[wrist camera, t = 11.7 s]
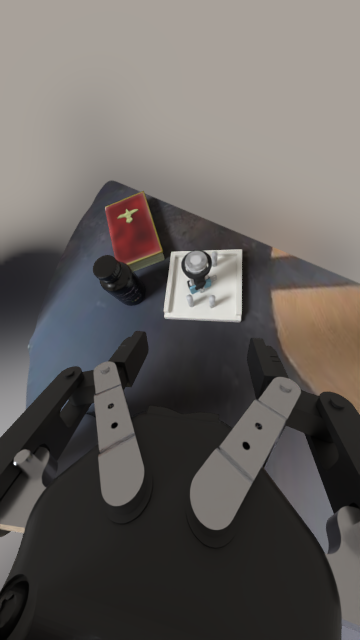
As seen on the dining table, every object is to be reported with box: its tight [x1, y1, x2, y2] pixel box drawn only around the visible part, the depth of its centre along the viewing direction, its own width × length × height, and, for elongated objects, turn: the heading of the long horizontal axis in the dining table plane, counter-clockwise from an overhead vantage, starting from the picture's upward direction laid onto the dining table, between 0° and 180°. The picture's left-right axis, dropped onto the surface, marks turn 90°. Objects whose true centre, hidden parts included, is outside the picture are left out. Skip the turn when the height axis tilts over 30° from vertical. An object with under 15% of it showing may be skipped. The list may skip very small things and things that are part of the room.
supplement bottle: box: [93, 255, 146, 306], centre depth 37 cm, size 7×7×12 cm
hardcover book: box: [105, 191, 165, 271], centre depth 46 cm, size 12×21×4 cm, turn 17°
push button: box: [181, 250, 217, 294], centre depth 34 cm, size 7×5×10 cm
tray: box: [164, 249, 242, 322], centre depth 37 cm, size 16×16×5 cm
